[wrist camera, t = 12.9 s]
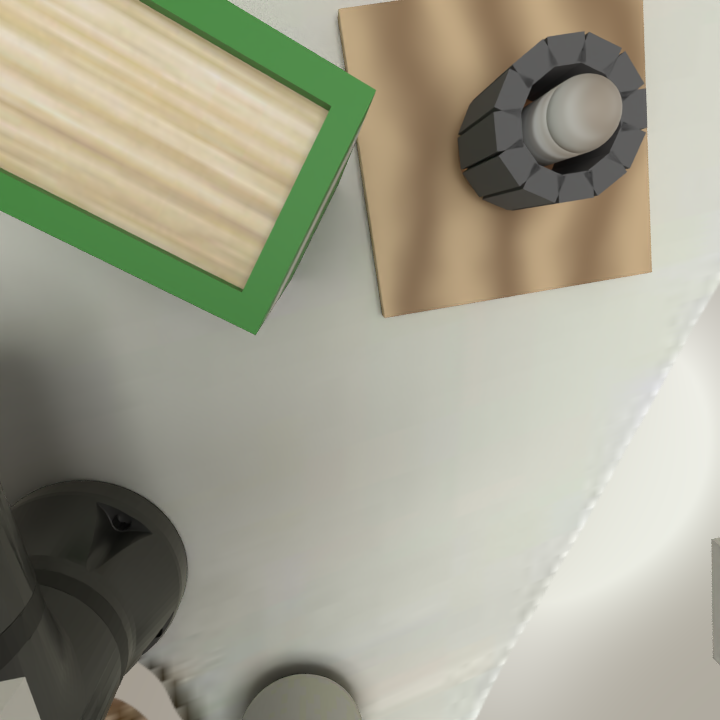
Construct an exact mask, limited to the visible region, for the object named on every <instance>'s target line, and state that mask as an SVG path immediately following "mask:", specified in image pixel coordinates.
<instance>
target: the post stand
mask: <svg viewBox="0 0 720 720" xmlns="http://www.w3.org/2000/svg"><path fill="white" fill-rule="evenodd" d="M338 23H339V30H340V37H341V43H342V50H343V57H344V63H345V70H346V72H347V73H349V74H350V75H352V76H354V77H355V78H357V79H359V80H360V81H362V82H364V83H365V84H367V85H369V86H370V87H372V88H374V89H375V90H376V92H375V95H374V97H373V100H372V102H371V105H370V107H369V110H368V112H367V115H366V117H365V119H364V122H363V124H362V127H361V129H360V132H359V134H358V137H357V139H356V143H357V149H358V156H359V163H360V169H361V176H362V183H363V189H364V196H365V203H366V209H367V216H368V222H369V229H370V236H371V242H372V249H373V256H374V262H375V269H376V276H377V282H378V289H379V295H380V302H381V309H382V315H383V316H384V317H385V318H387V317H393V316H399V315H404V314H410V313H416V312H422V311H428V310H434V309H439V308H445V307H451V306H457V305H463V304H469V303H475V302H480V301H486V300H492V299H498V298H504V297H510V296H515V295H521V294H527V293H533V292H539V291H545V290H550V289H556V288H562V287H568V286H574V285H580V284H585V283H591V282H597V281H603V280H609V279H615V278H621V277H626V276H632V275H638V274H644V273H650V272H652V265H651V235H650V204H649V174H648V143H647V128H645V129H642V131H644V132H646V134H645V136H644V139H643V141H642V143H641V145H640V147H639V150H638V152H637V154H636V156H635V158H634V161H633V163H632V165H631V167H630V168H629V169H625V170H626V171H627V173H625V174H624V175H623V176H622V177H620V178H619V179H618V180H617V181H616V182H614V183H613V184H612V185H611V186H609V187H608V188H607V189H606V190H604V191H603V192H602V193H601V194H599V195H598V196H594V198H588V199H582V200H576V201H570V202H564V203H558V204H551V205H545V206H539V207H532V208H526V209H520V210H513V211H512V210H506V209H504V208H501V207H499V206H496V205H494V204H492V203H489V202H487V201H485V200H482V198H483V196H482V197H479V196H478V195H477V193H476V192H475V190H474V189H473V188H472V186H471V185H470V183H469V182H468V181H467V179H466V178H465V176H464V175H463V174H462V173H463V172H464V171H465V170H467V169H461V167H460V158H459V148H458V139H457V138H458V137H460V136H461V135H458V133H459V130H460V128H461V125H462V123H463V120H464V117H465V115H466V112H467V110H468V107H469V105H470V103H472V100H474V99H475V98H476V97H477V96H478V95H479V94H480V93H481V92H482V91H484V90H485V89H486V88H487V87H488V86H489V85H490V84H491V83H492V82H494V81H495V80H496V79H497V78H498V77H499V76H500V75H501V74H502V73H504V72H505V71H506V70H507V69H508V68H509V67H510V66H511V65H512V64H514V63H515V62H516V61H517V60H518V59H520V58H521V57H522V56H523V55H524V54H525V53H527V52H528V51H529V50H530V49H531V48H533V47H534V46H535V45H536V44H537V43H538V42H540V41H541V40H542V39H545V38H546V37H548V36H555V35H561V34H568V33H575V32H581V31H585V34H587V33H588V32H591V33H593V34H595V35H597V36H599V37H601V38H603V39H605V40H607V41H609V42H611V43H613V44H615V45H617V46H619V47H621V48H622V49H621V51H620V53H619V55H620V54H621V53H623V52H624V51H626V53H627V55H628V56H629V58H630V60H631V62H632V63H633V65H634V67H635V68H636V70H637V72H638V73H639V75H640V77H641V78H642V80H643V82H644V83H645V52H644V22H643V0H398V1H391V2H384V3H377V4H370V5H363V6H356V7H349V8H342V9H339V12H338ZM644 88H646V83H645V84H643V85H642V86H641V87H640V88H639V89H644ZM621 115H622V99H621V95H620V93H619V91H618V89H617V87H616V86H615V85H614V84H613V82H611V81H610V80H609V79H607V78H606V77H604V76H601V75H598V74H592V73H586V74H580V75H576V76H573V77H571V78H569V79H567V80H566V81H564V82H563V83H561V84H559V85H558V86H556V87H555V88H553V89H552V90H550V91H549V92H547V93H545V94H544V95H542V96H541V97H539V98H538V99H536V100H535V101H533V102H532V101H530V100H528V99H526V102H525V104H524V107H523V109H522V112H521V120H522V132H523V142H524V144H525V145H526V147H527V148H528V150H529V151H530V153H531V154H532V156H533V157H534V159H535V160H536V162H537V163H538V165H541V166H543V167H545V168H547V169H550V170H552V168H553V165H554V163H557V162H560V161H563V160H566V159H569V158H572V157H575V156H578V155H581V154H584V153H587V152H590V151H592V150H595V149H597V148H598V147H600V146H601V145H603V144H604V143H605V142H606V141H607V140H609V138H610V137H611V136H612V135H613V133H614V132H615V130H616V129H617V127H618V125H619V122H620V119H621Z"/></svg>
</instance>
